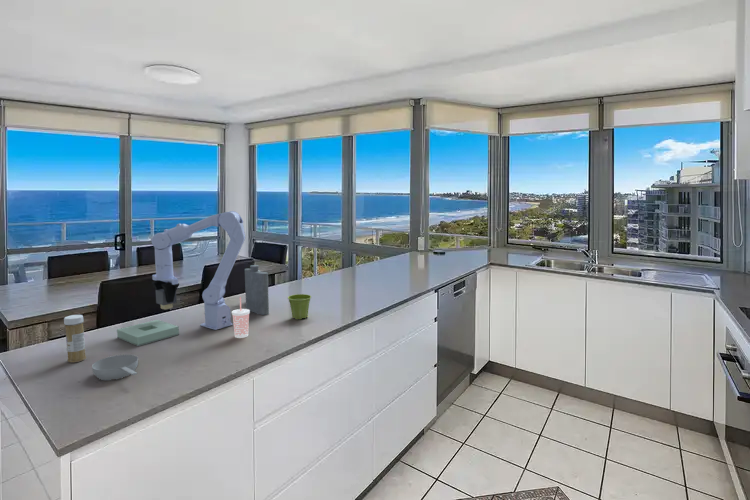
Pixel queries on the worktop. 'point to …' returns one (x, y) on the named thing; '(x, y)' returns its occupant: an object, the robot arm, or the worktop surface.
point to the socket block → (147, 332)
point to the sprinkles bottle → (75, 338)
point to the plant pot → (299, 305)
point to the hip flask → (256, 290)
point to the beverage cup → (241, 322)
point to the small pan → (115, 367)
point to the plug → (164, 299)
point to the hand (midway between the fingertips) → (166, 300)
